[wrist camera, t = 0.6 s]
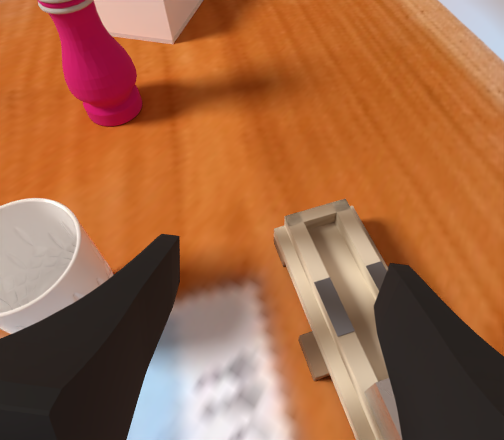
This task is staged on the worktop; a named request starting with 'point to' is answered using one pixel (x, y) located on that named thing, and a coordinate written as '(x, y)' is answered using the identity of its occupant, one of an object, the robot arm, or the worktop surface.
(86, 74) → the pepper mill
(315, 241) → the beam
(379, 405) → the block
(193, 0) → the butter dish
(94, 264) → the white cup
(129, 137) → the worktop surface
